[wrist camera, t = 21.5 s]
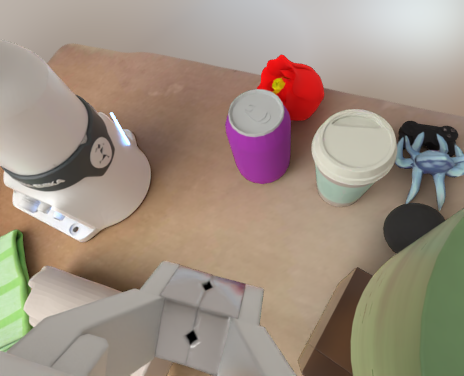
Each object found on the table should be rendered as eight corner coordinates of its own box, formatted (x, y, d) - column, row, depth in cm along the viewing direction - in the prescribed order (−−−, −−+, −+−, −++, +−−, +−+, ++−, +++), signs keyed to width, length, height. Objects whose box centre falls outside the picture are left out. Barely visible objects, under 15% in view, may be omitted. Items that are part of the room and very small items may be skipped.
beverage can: (226, 168, 46) (207, 119, 36) (258, 131, 48) (249, 74, 37) (269, 196, 44) (262, 153, 33) (301, 156, 45) (304, 101, 34)
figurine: (392, 209, 41) (400, 182, 35) (388, 134, 46) (394, 97, 40) (481, 212, 38) (507, 182, 31) (466, 130, 43) (486, 89, 36)
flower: (341, 99, 43) (298, 83, 38) (304, 136, 48) (263, 126, 44) (320, 61, 46) (278, 43, 42) (287, 99, 52) (248, 87, 47)
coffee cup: (386, 182, 42) (420, 131, 31) (347, 230, 40) (368, 193, 29) (331, 148, 45) (345, 91, 34) (293, 191, 43) (295, 145, 33)
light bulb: (473, 298, 31) (402, 224, 32) (421, 296, 37) (362, 233, 38) (497, 253, 34) (431, 184, 34) (445, 258, 40) (389, 199, 40)
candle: (130, 464, 31) (-18, 385, 37) (189, 325, 40) (62, 278, 45) (102, 465, 26) (-66, 372, 31) (178, 304, 34) (34, 253, 39)
